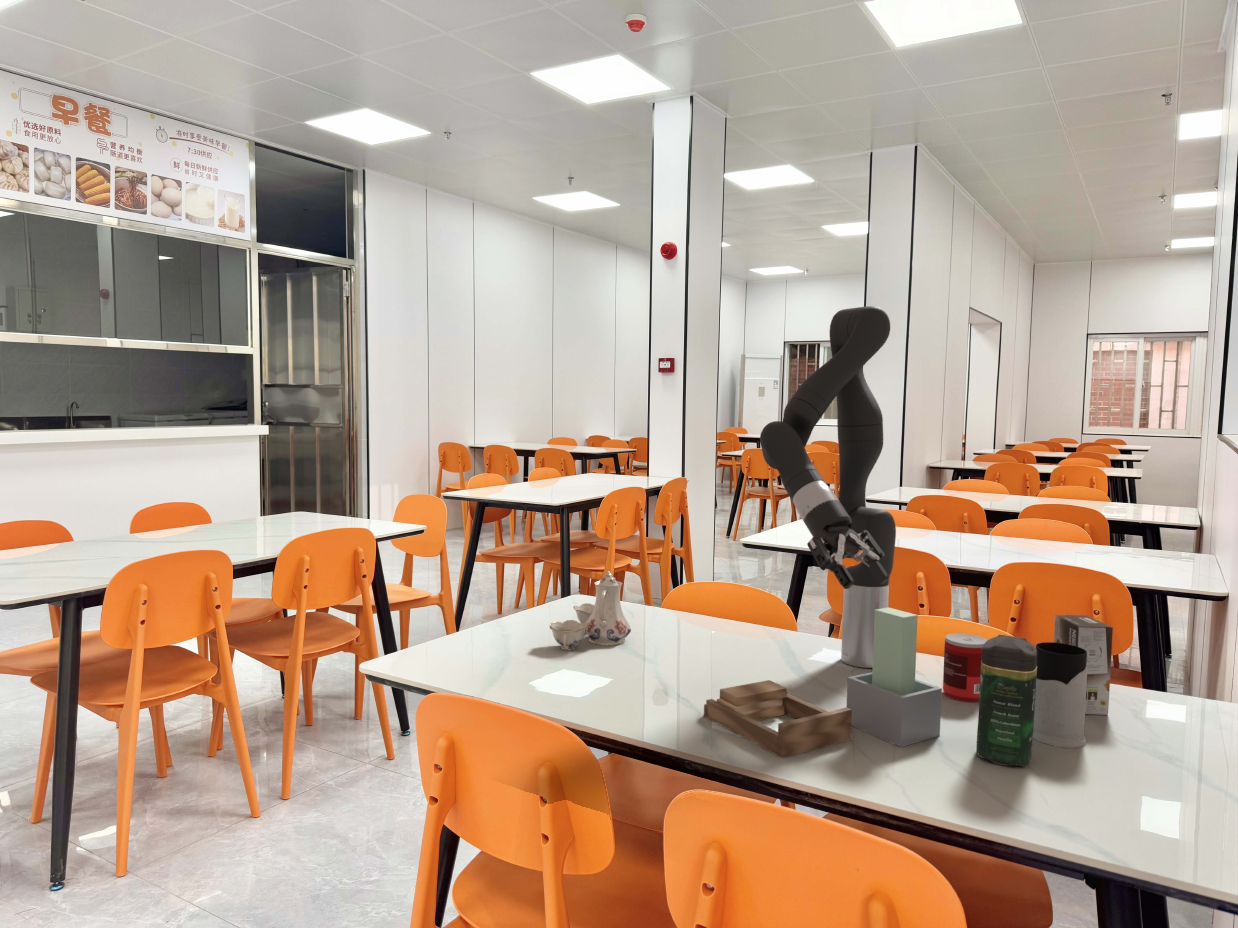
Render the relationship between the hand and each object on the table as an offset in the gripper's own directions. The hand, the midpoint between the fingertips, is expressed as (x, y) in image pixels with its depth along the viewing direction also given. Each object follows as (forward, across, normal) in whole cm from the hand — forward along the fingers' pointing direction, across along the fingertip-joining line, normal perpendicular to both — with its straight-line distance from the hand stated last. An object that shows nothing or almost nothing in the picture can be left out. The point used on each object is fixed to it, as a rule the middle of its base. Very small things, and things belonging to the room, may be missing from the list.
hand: (867, 583), depth 143 cm
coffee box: (+28, +40, +6) cm, 49 cm away
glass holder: (+31, +20, +3) cm, 37 cm away
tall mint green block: (+21, 0, +12) cm, 24 cm away
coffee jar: (+33, +6, +1) cm, 34 cm away
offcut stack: (+10, -17, +24) cm, 31 cm away
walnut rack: (+14, -17, +19) cm, 29 cm away
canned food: (+18, +26, +16) cm, 35 cm away
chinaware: (-29, -17, +63) cm, 71 cm away
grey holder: (+21, 0, +12) cm, 24 cm away
